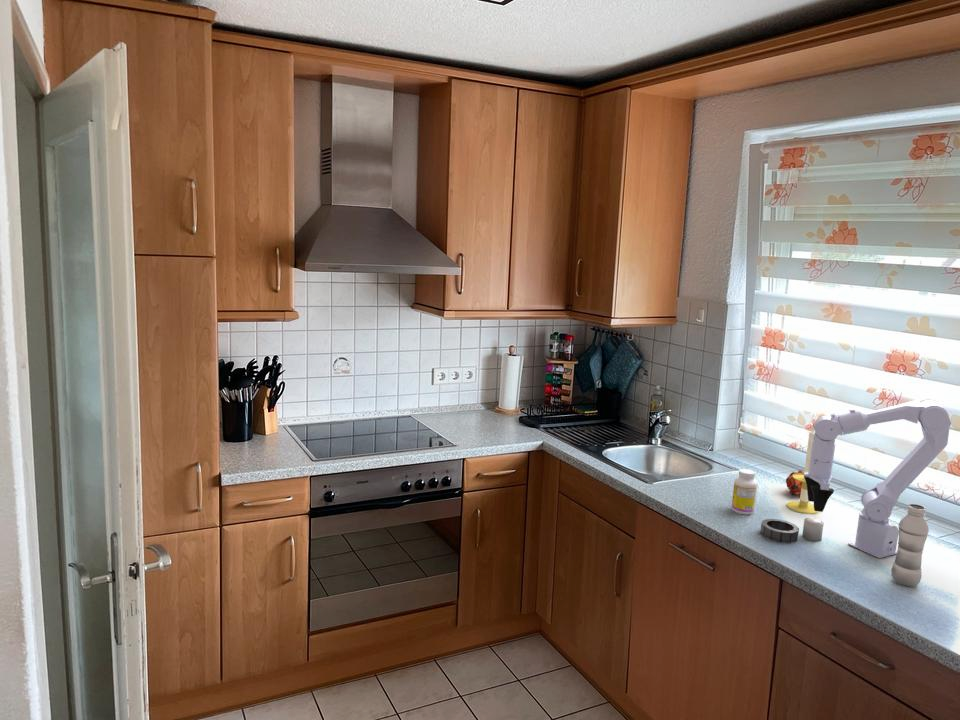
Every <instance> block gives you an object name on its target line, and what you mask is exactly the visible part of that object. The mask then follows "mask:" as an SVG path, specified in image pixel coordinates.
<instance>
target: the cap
mask: <svg viewBox="0 0 960 720" xmlns="http://www.w3.org/2000/svg"><path fill="white" fill-rule="evenodd" d="M824 524H825V523H824V521H823V520H822V519H818V518H815V517H805V518H804V519H803V526H802V533H801V536H802V538H803V539H804V540H806V541H810V542H815V543H816V542H817V543H818V542H821V541H822V539H823V538H822V537H823V533H824V532H823V531H824Z"/></svg>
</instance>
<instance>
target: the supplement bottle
mask: <svg viewBox="0 0 960 720" xmlns="http://www.w3.org/2000/svg"><path fill="white" fill-rule="evenodd" d="M755 477H756V471H754V470H752V469H748V468H741V469H738V476H737V477H736V478H735V479H734V483H733V491H732V499H731V500H732V501H731V510H732V511H733V512H735V513H736V514H740V515H747V516H748V515H753V514H754V513H755V509H756V500H757V492H758V481H757V480H756V479H755Z"/></svg>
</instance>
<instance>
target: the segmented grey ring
mask: <svg viewBox="0 0 960 720" xmlns="http://www.w3.org/2000/svg"><path fill="white" fill-rule="evenodd" d="M759 532H760V534H761V536H762V537H763V538H765V539H767V538H768V540H770V541H771V542H772V541H773V542H776V543H781V544H792V543H796V542H797V541H798V540H799V533H800V528H799V527H798V525H796V524H794V523H792V522H790V521H787V520H784V519H778V518H767V519H763V520H762V521H761V525H760V531H759Z"/></svg>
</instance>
